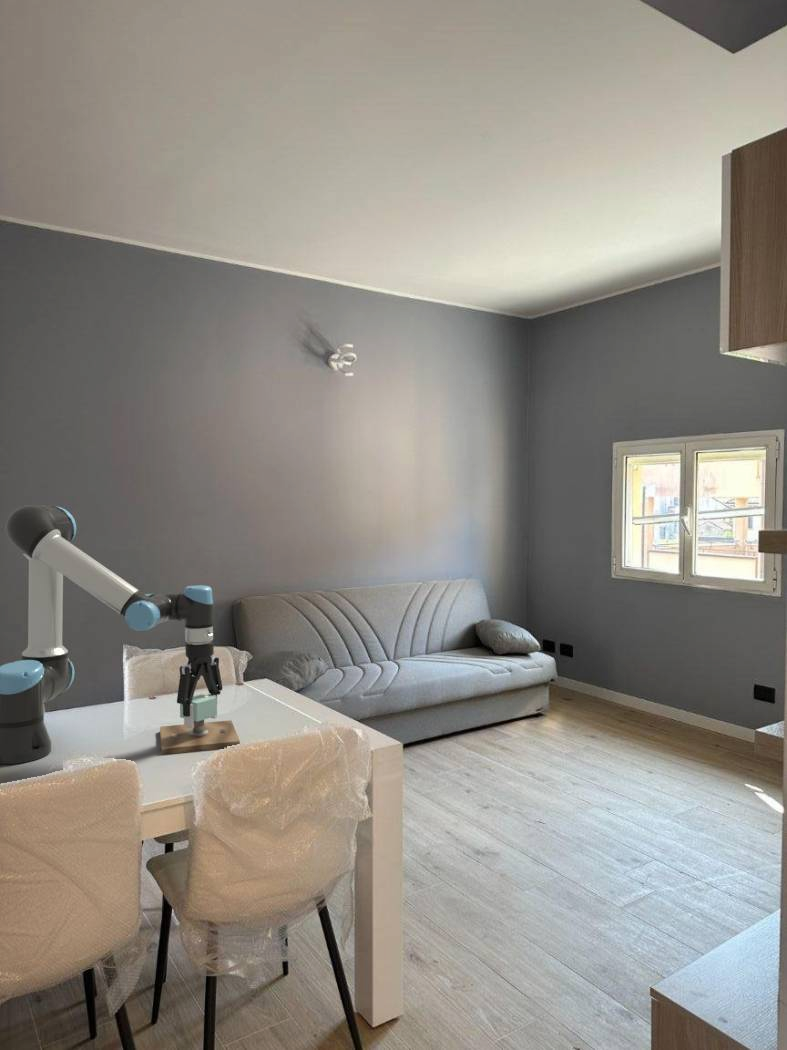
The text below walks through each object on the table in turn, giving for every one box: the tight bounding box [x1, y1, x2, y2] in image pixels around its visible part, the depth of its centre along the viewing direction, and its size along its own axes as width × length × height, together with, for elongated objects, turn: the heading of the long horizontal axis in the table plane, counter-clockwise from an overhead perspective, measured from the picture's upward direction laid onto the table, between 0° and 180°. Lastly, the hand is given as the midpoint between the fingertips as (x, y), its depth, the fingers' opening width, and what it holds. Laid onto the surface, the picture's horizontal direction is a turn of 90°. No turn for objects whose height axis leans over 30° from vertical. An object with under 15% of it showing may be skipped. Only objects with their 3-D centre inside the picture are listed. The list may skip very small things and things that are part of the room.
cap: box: [179, 693, 218, 722], centre depth 201 cm, size 8×7×5 cm
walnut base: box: [159, 719, 241, 755], centre depth 201 cm, size 20×20×6 cm
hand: (200, 722), depth 201 cm, fingers closed on cap, 9 cm apart
